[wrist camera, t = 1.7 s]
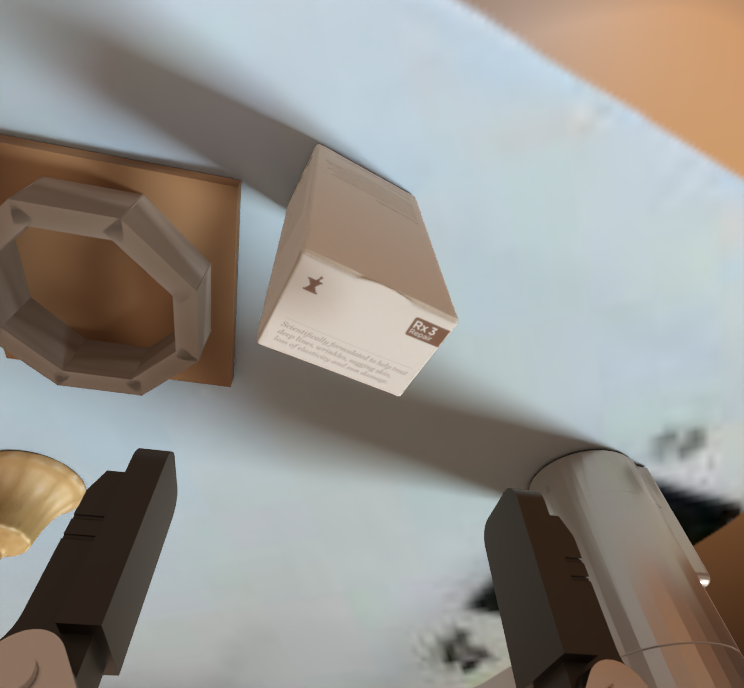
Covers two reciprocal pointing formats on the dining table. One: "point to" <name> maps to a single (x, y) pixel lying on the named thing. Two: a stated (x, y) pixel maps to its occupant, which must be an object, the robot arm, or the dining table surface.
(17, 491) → the hand bell
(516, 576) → the robot arm
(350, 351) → the skincare box
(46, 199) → the collar dock
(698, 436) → the dining table surface
